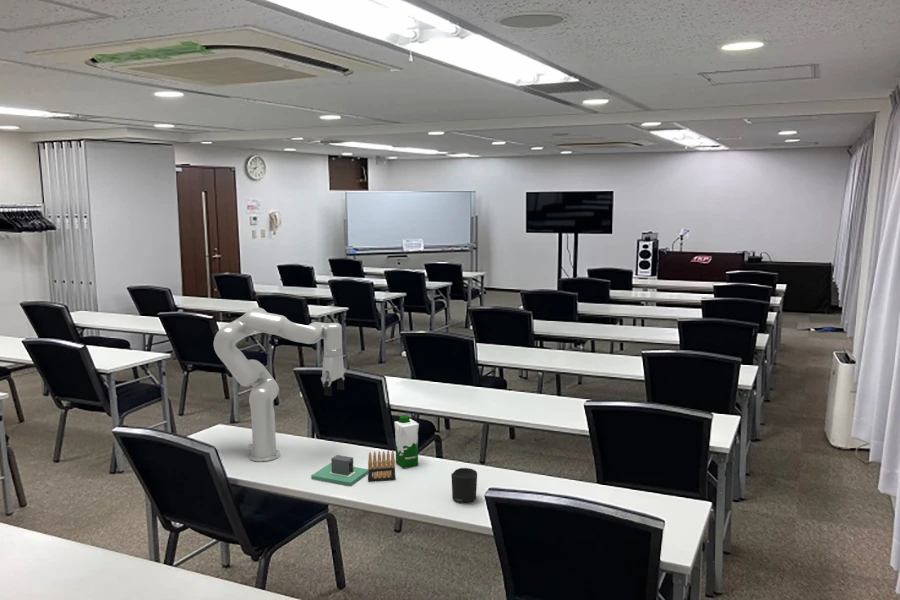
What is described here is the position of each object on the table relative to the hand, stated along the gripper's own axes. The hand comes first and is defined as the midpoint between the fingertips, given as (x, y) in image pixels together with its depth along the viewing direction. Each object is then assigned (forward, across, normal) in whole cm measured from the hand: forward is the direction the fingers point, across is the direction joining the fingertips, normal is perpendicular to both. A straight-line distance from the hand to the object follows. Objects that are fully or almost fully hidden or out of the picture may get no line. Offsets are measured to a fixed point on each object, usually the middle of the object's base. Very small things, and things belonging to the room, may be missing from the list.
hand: (334, 392), depth 283 cm
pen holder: (+29, +17, +66) cm, 74 cm away
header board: (+28, +17, +13) cm, 35 cm away
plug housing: (+27, +17, +14) cm, 35 cm away
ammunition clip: (+29, +14, +30) cm, 44 cm away
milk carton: (+28, -4, +32) cm, 43 cm away
